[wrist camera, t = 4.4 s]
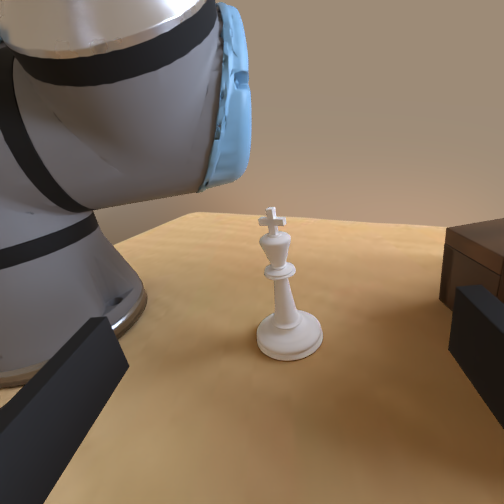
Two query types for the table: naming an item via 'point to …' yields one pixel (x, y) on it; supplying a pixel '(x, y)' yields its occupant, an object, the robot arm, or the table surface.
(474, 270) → the step shelf
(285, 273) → the chess piece
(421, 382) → the table surface
